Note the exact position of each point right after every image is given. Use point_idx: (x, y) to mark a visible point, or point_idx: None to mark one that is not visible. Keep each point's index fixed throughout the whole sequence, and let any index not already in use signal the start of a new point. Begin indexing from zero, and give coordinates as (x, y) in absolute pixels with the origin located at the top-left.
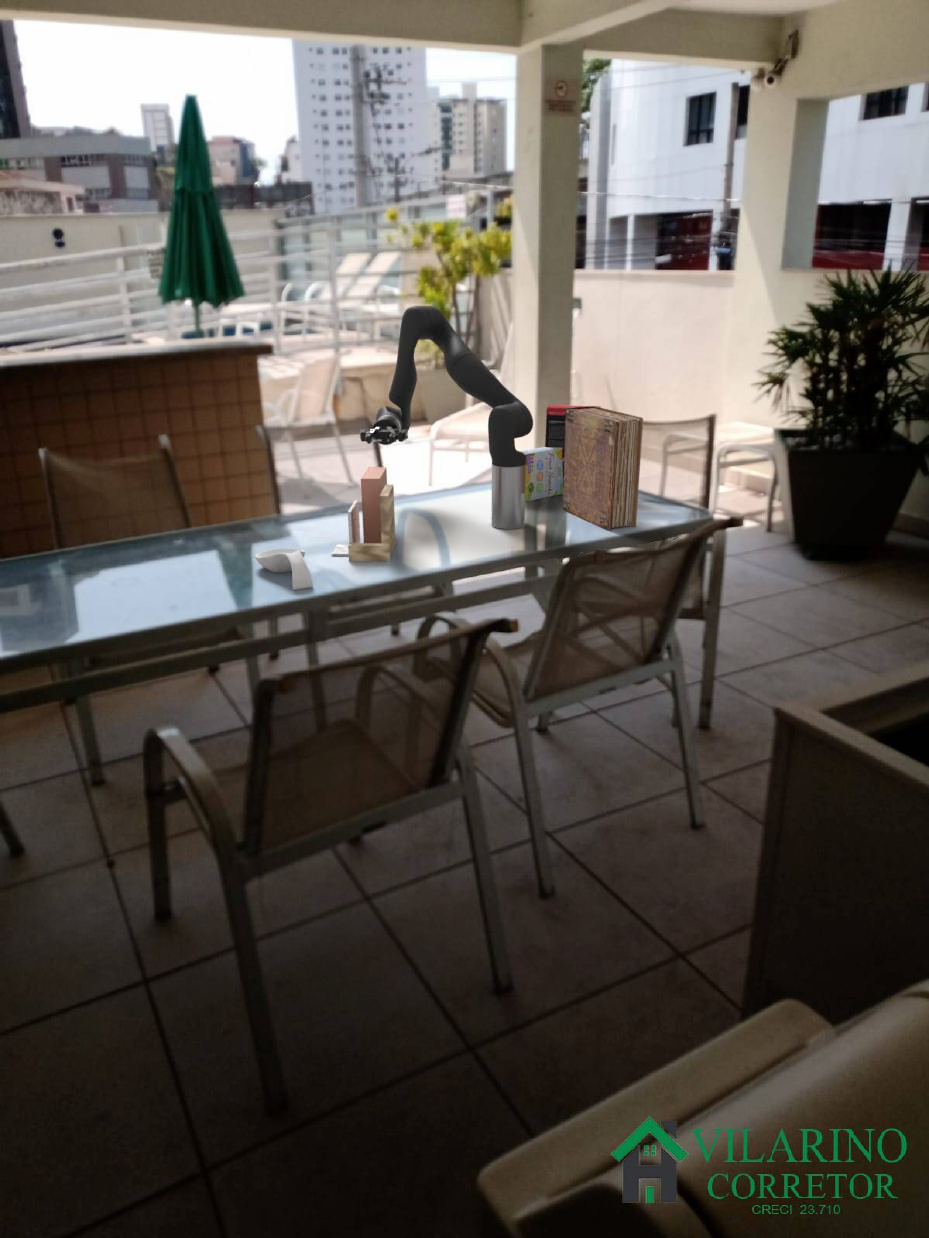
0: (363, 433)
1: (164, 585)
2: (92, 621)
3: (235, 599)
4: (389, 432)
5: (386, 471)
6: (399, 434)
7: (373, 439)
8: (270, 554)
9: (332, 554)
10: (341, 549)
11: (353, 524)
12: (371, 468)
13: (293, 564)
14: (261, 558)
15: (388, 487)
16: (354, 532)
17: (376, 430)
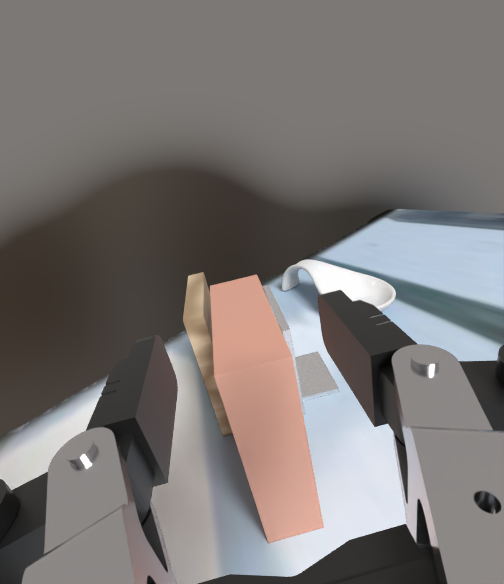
0: (498, 353)
1: (435, 254)
2: (405, 225)
3: (336, 262)
4: (144, 558)
5: (218, 388)
6: (10, 498)
7: (403, 486)
8: (386, 301)
9: (316, 352)
10: (313, 370)
11: None
12: (270, 345)
13: (297, 263)
14: (361, 274)
15: (193, 303)
16: None
17: (426, 518)
